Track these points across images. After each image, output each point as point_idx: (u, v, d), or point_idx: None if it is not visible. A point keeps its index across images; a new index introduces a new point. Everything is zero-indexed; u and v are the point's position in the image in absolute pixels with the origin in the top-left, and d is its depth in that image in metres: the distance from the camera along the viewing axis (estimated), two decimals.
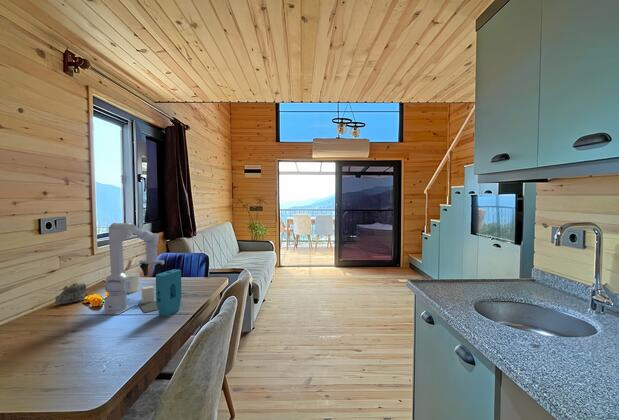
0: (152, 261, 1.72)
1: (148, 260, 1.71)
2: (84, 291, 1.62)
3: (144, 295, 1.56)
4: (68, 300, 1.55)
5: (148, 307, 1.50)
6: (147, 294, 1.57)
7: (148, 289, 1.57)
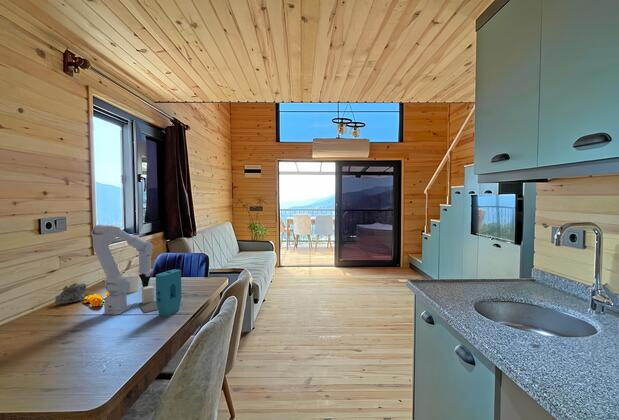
0: (141, 271, 1.60)
1: (139, 270, 1.61)
2: (84, 291, 1.62)
3: (144, 295, 1.56)
4: (68, 300, 1.55)
5: (148, 307, 1.50)
6: (147, 294, 1.57)
7: (148, 289, 1.57)
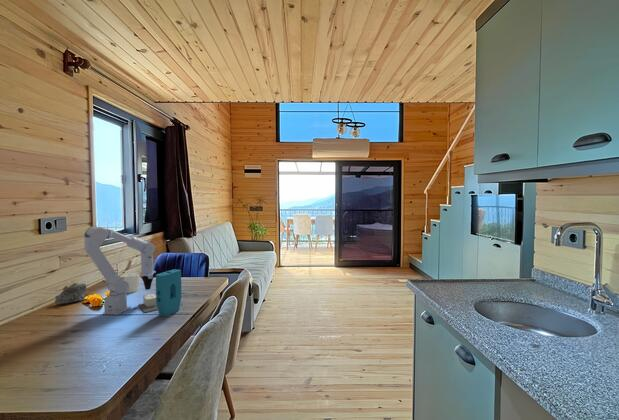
0: (143, 273, 1.55)
1: (141, 271, 1.57)
2: (84, 291, 1.62)
3: None
4: (68, 300, 1.55)
5: (148, 307, 1.50)
6: None
7: None
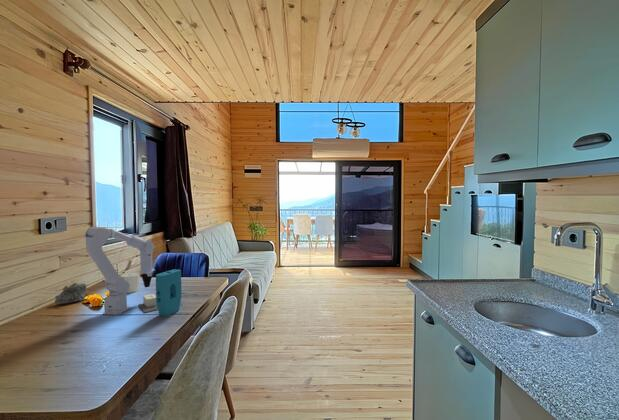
0: (142, 271, 1.57)
1: None
2: (84, 291, 1.62)
3: None
4: (68, 300, 1.55)
5: (148, 307, 1.50)
6: None
7: None
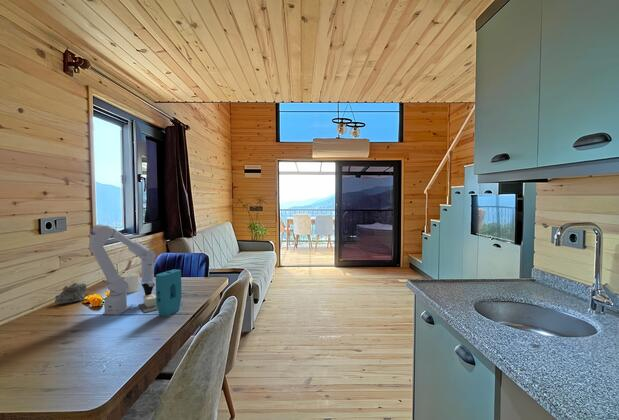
0: (143, 281, 1.55)
1: None
2: (84, 291, 1.62)
3: None
4: (68, 300, 1.55)
5: (148, 307, 1.50)
6: None
7: None
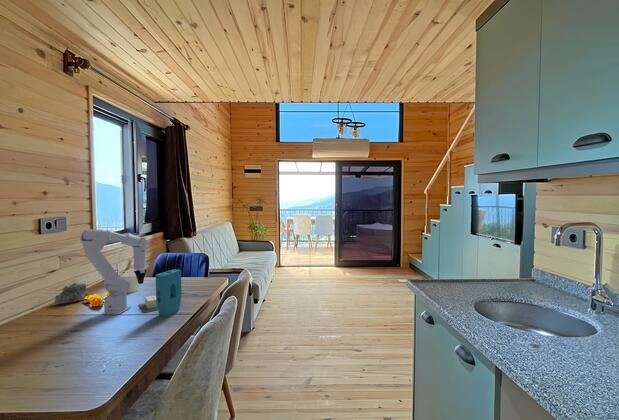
0: (135, 268, 1.56)
1: (134, 266, 1.58)
2: (84, 291, 1.62)
3: None
4: (67, 300, 1.55)
5: None
6: None
7: None
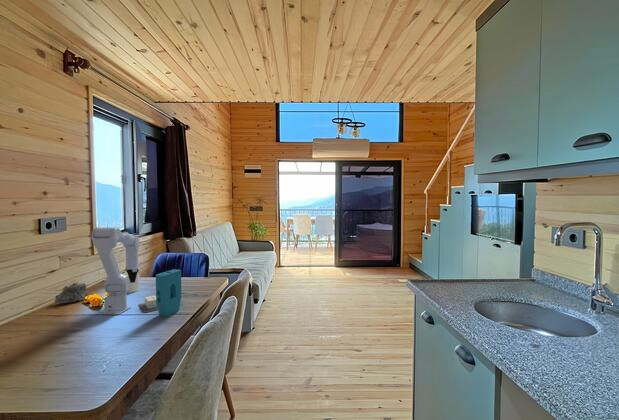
0: (128, 267, 1.58)
1: (126, 265, 1.60)
2: (84, 291, 1.62)
3: None
4: (67, 300, 1.55)
5: None
6: None
7: None
